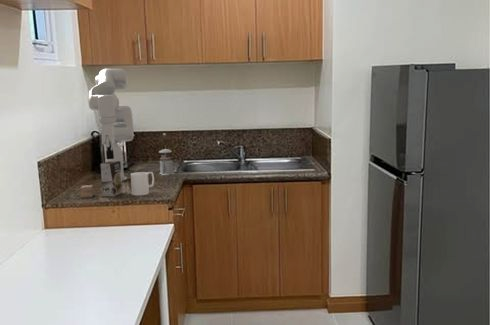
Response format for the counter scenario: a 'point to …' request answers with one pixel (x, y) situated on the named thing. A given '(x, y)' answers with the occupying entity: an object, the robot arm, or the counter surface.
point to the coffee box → (111, 178)
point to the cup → (140, 183)
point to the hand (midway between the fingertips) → (110, 158)
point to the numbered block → (87, 191)
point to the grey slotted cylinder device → (166, 163)
